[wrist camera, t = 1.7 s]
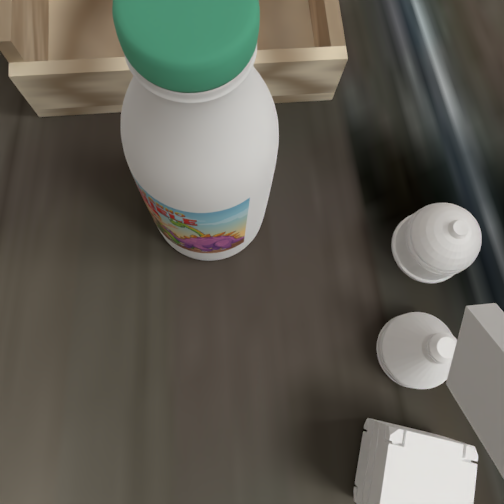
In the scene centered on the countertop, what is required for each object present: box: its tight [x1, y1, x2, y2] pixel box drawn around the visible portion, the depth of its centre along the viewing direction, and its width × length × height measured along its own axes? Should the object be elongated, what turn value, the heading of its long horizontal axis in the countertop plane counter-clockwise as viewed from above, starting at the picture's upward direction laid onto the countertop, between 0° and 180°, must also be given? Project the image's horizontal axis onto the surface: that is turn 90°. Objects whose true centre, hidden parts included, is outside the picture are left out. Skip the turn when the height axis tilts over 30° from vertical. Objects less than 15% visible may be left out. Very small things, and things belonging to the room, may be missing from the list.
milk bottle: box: [112, 0, 279, 261], centre depth 24 cm, size 8×8×20 cm
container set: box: [353, 203, 482, 504], centre depth 30 cm, size 20×5×6 cm, turn 167°
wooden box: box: [0, 0, 348, 117], centre depth 33 cm, size 22×13×7 cm, turn 95°
